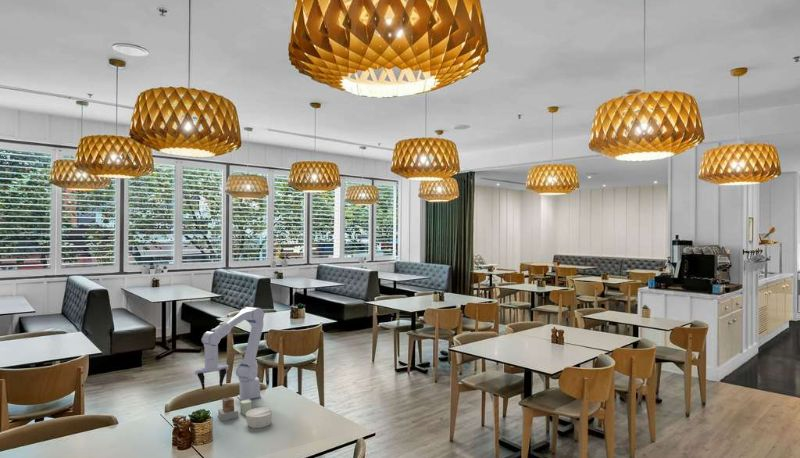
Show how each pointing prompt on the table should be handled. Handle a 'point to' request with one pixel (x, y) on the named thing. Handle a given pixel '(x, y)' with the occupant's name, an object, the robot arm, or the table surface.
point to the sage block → (245, 406)
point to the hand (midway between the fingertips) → (212, 387)
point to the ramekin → (259, 417)
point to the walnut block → (228, 404)
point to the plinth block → (228, 414)
